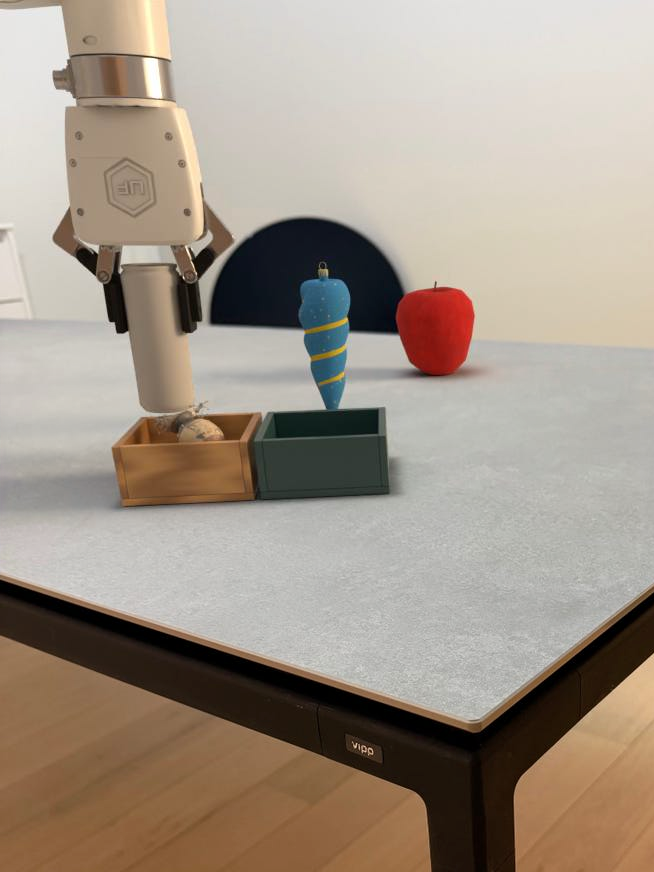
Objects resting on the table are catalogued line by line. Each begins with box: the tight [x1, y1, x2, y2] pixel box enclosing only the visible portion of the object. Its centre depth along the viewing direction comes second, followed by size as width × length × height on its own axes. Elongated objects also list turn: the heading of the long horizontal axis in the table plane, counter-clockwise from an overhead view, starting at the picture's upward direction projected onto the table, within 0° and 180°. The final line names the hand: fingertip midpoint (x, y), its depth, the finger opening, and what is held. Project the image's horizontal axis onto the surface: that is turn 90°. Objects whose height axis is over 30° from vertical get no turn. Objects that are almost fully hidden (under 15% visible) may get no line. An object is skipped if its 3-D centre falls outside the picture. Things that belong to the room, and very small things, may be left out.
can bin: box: [254, 406, 391, 500], centre depth 78 cm, size 10×10×5 cm
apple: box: [395, 280, 476, 376], centre depth 117 cm, size 10×10×11 cm
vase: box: [153, 400, 241, 443], centre depth 76 cm, size 5×5×6 cm
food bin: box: [110, 411, 263, 507], centre depth 77 cm, size 10×10×5 cm
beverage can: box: [119, 262, 196, 414], centre depth 82 cm, size 5×5×12 cm
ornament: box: [298, 261, 351, 410], centre depth 95 cm, size 5×5×15 cm
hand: (157, 329), depth 82 cm, fingers closed on beverage can, 4 cm apart
